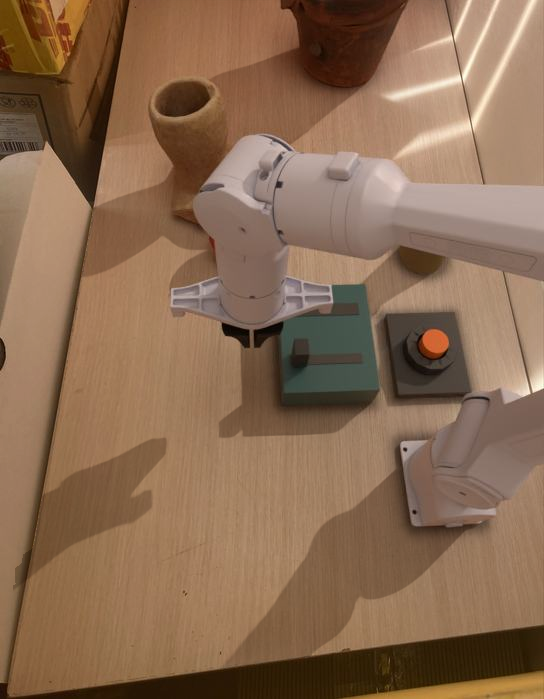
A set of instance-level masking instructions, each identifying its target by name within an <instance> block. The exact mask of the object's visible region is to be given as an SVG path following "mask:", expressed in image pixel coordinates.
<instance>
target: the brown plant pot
mask: <svg viewBox="0 0 544 699" xmlns="http://www.w3.org/2000/svg"><path fill="white" fill-rule="evenodd" d="M279 1H280V2H279V3H280V9H281V10H283V11H285V10H289V11H290V12H291V13H292V16H293V17H294V19H295V22H296V29H297V38H298V44H299V52H300V54H299V55H300V62H301V63H302V65H303V67H304V69H305V70H306V71H307V72H308V73H309V74H310V75H311V76H312V77H313V78H315V79H316V80H319V81H320V82H322V83H325V84H328V85H331V86H335V87H345V88H346V87H354V86H358V85H361V84H363V83H365V82H368V81H369V80H370V79H371V78H372V77H373V76H374V74H375V73H376V71H377V70H378V67H379V66H380V63H381V61H382V59H383V57H384V54H385V52H386V50H387V48H388V45H389V43H390V41H391V39H392V36H393V34H394V32H395V30H396V28H397V26H398V24H399V21H400V19H401V17H402V14H403V12H404V11H405V10H406V8H407V6H408V3H409V0H279Z"/></svg>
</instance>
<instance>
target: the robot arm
mask: <svg viewBox="0 0 544 699" xmlns="http://www.w3.org/2000/svg"><path fill="white" fill-rule="evenodd" d="M232 146H233V148H232V149H231V150H230V151H229V153H228V154H227V155H226V157H225V158H224V159H223V160H222V162H221V163H220V164H219V165H218V167H217V168H216V169H215V170H214V172H213V173H212V174H211V176H210V177H209V178H208V179H207V181H206V182H205V183H204V184H203V186H202V187H201V188H200V190H199V192H198V195H197V196H196V197H195V198H194V201H193V211H194V214H195V216H196V219H197V220H198V222H199V224H200V225H199V224H198V225H199V226H200V227H201V228H202V229H203V230H204V232H205V233H207V235H208V237H209V236H211V237H212V238H213V239H214V243H215V251H214V252H215V260H216V262H215V264H216V271H217V276H215V277H211V278H208V279H205V280H203V281H200V282H196V283H194V284H189V285H187V286H182V287H181V286H180V287H171V288H170V297H169V298H170V300H169V301H170V303H169V308H170V310H171V315H172V317H173V318H183V317H185V315H186V313H188V314H193V315H196V316H200V317H203V318H207V319H210V320H213V321H217V322H220V323H221V330H222V333H223V335H224V336H225V337H228V338H229V337H230V338H233V339H235V340H237V342H239V343H240V344H241V346H242V348H243V349H251V332H250V330H253V331H252V333H253V334H252V335H253V349H260V348H261V347H262V346H263V344H264V343H265V342H266V341H268V339H270V338H272V337H274V336H278V335H280V334H281V332H282V330H283V325H284V322H283V321H284V320H287V319H290V318H292V317H295V316H298V315H301V314H304V313H306V312H309V311H312V310H315V309H318V310H319V312H320V313H330V312H331V309H332V306H333V296H332V287H331V285H332V284H323V283H322V284H321V283H315V282H311V281H307V280H303V279H300V278H297V277H293V276H291V275H290V276H289V275H287V273H288V265H289V255H290V246H292V247H296V248H297V247H298V248H301V249H302V248H303V249H307V250H313V251H318V252H322V253H323V252H324V253H329V254H334V255H340V256H345V257H349V258H350V257H351V258H354V259H355V258H356V259H361V260H367V261H374V260H377V259H380V258H382V257H383V256H385V255H386V254H387V253H390V251H392V250H394V249H395V248H396V247H399V246H400V247H401V246H405V247H409V248H413V249H417V250H421V251H425V252H429V253H433V254H437V255H440V256H444V258H449V259H453V260H457V261H461V262H465V263H468V264H472V265H477V266H480V267H484V268H488V269H492V270H496V271H499V272H504V273H508V274H511V275H515V276H520V277H522V278H523V277H524V278H528V279H532V280H535V281H539V282H544V185H529V184H528V185H523V184H517V185H516V184H483V183H482V184H481V183H479V184H478V183H475V184H474V183H435V182H434V183H433V182H432V183H431V182H412V181H411V180H410V179H409V178H408V176H407V175H406V174H405V173H404V172H403V170H402V169H401V167H399V165H398V164H397V163H395V162H394V161H393V160H391V159H390V158H382V157H369V156H368V157H367V156H360V155H359V153H358V152H355V151H342V150H341V151H338V152H337V153H336V154H330V153H315V152H303V151H296V150H295V149H294V148H293V147H292V146H291V145H290V144H288V142H286V141H285V140H283V139H281V138H280V137H277V136H276V135H272V134H268V133H257V134H248V135H244V136H243V137H241V138H240V139H239V140H237V142H236V143H235V144H234V145H232ZM460 403H461V404H460V405H461V407H460V409H459V411H458V413H457V416H456V417H455V420H454V421H452V422H450V423H448V424H446V425H445V426H443V427H442V428H441V429H439V431H437V432H436V433H435V434H434V435H432V437H430V438H429V439H427V440H426V439H423V440H403V441H401V442H400V443H399V452H400V458H401V459H400V460H401V465H402V471H403V478H404V486H405V494H406V500H407V506H408V514H409V520H410V524H411V525H412V526H413V527H417V528H418V527H436V526H437V527H439V526H445V527H444V528H459V527H463V526H464V525H477V524H478V525H479V524H481V523H483V522H484V521H487V520H490V519H493V518H496V517H497V508H499V507H500V505H501V502H504V501H509V500H512V499H513V498H514V497H515V495H516V494H517V492H518V491H519V490H520V488H521V487H522V486H523V485H524V483H525V482H526V481H527V479H528V478H529V477H530V475H531V474H532V473H533V471H534V470H535V469H536V468H537V467H538V466H543V465H544V388H541V389H538V390H536V391H534V392H531V393H528V394H527V395H524V396H522V395H520V394H518V393H516V392H514V391H512V390H509V389H507V388H504V387H498V388H497V389H494V390H491V391H487V390H477V391H472V392H471V393H468V394H466V395H465V396H462V400H461V402H460ZM404 449H405V450H406V451H405V450H404ZM413 511H414V512H415V514H414V513H413Z"/></svg>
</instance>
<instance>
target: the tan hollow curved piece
mask: <svg viewBox="0 0 544 699" xmlns="http://www.w3.org/2000/svg"><path fill="white" fill-rule="evenodd" d="M147 106H148V107H147V111H148V117H149V121H150V123H151V128H152V130H153V133H154V137H155V138H156V141H157V142H158V144H159V146H160V147H161V149H162V151H163V152H164V153H165V155H166V156H167V157H168V159H169V161H170V162H171V164H172V165H173V167H174V169H175V172H174V173H175V174H174V178H173V179H174V181H173V186H172V187H173V188H172V200H171V204H170V211H171V213H172V214H174V215H175V216H179V217H181V218H182V219H184V220H186V221H189V222H192V223H194V224H197V225H199V226H201V225H200V224H199V222H198V220H197V219H196V216H195V214H194V211H193V201H194V198H195V197H196V196H197V195H198V192H199V190H200V188H201V187H202V186H203V184H204V183H205V182H206V181H207V179H208V178H209V177H210V176H211V174H212V173H213V172H214V170H215V169H216V168H217V167H218V165H219V164H220V163H221V162H222V160H223V159H224V158H225V157H226V155H227V154H228V153H229V151H230V150H231V149H232V148H233V146H234V145H230V144H227V141H228V135H229V134H228V132H229V122H228V117H227V116H228V115H227V111H226V110H227V109H226V107H225V106H226V105H225V102H224V98H223V95H222V94H221V91H220V90H219V88H218V87H217V85H216V84H215V83H214V82H212V81H211V80H209V79H208V78H205V77H202V76H199V75H183V76H177V77H174V78H170V79H169V80H167V81H165V82H164V83H162V84H160V85H159V86H157V87H156V89H154V91H153V92H152V93H151V95H150V98H149V101H148V105H147Z"/></svg>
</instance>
